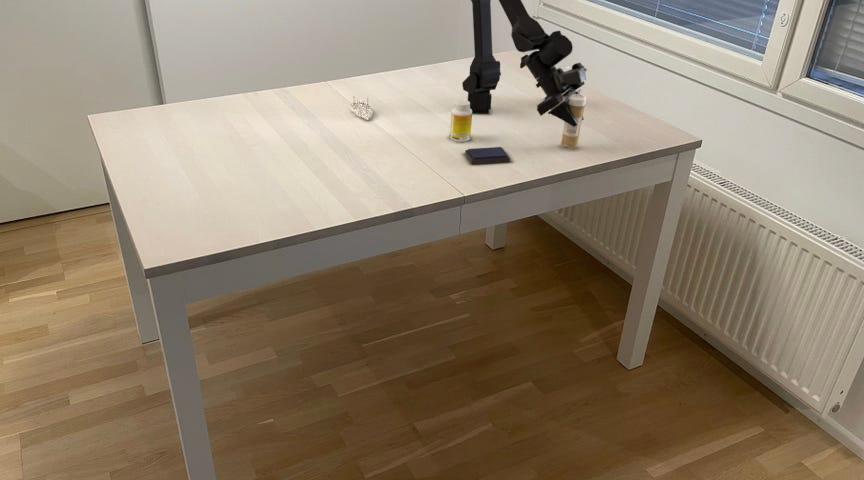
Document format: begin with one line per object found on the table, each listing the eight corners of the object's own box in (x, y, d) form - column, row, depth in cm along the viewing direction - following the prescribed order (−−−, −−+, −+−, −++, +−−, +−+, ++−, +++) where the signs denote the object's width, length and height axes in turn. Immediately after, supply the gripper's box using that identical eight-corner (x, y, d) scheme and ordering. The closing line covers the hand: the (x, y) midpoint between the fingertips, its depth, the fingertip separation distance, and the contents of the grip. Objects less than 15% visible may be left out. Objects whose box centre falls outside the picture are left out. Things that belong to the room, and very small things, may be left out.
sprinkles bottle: (580, 144, 192) (589, 95, 184) (573, 150, 189) (582, 100, 181) (564, 140, 194) (572, 91, 186) (557, 145, 191) (565, 96, 183)
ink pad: (471, 164, 182) (471, 158, 181) (464, 154, 187) (465, 148, 186) (509, 162, 183) (510, 156, 182) (501, 151, 189) (502, 145, 188)
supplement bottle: (473, 141, 194) (476, 104, 189) (455, 143, 193) (457, 107, 187) (464, 133, 199) (467, 97, 193) (446, 136, 197) (448, 100, 191)
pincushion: (377, 120, 206) (377, 101, 203) (356, 122, 205) (356, 103, 202) (364, 105, 216) (364, 87, 213) (345, 107, 214) (344, 89, 211)
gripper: (555, 64, 173) (591, 118, 174) (583, 46, 186) (616, 96, 187) (521, 89, 181) (556, 140, 182) (550, 70, 194) (582, 118, 195)
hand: (579, 123), depth 187 cm, fingers closed on sprinkles bottle, 4 cm apart
